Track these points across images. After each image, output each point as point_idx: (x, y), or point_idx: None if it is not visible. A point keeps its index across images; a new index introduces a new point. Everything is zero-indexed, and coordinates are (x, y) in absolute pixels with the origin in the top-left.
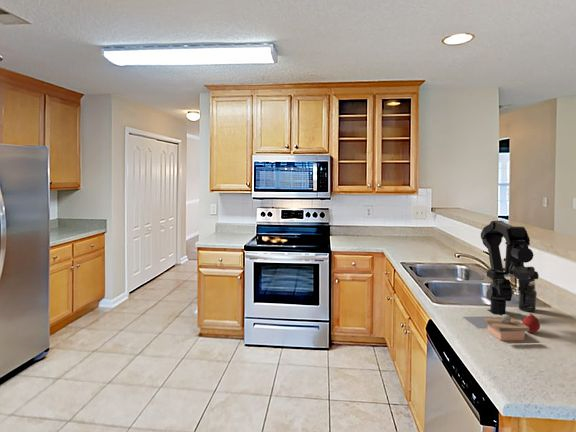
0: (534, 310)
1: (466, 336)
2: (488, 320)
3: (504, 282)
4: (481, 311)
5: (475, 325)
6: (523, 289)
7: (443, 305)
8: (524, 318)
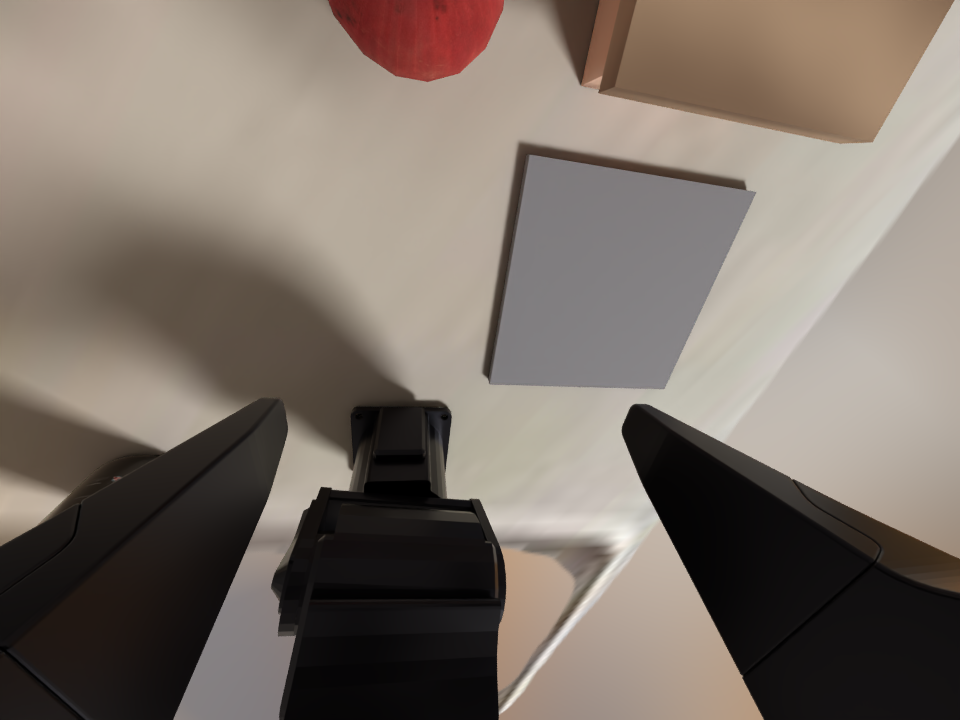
0: (106, 464)
1: (930, 80)
2: (932, 35)
3: (373, 704)
4: (478, 465)
5: (723, 248)
6: (218, 463)
7: (601, 527)
8: (483, 5)
